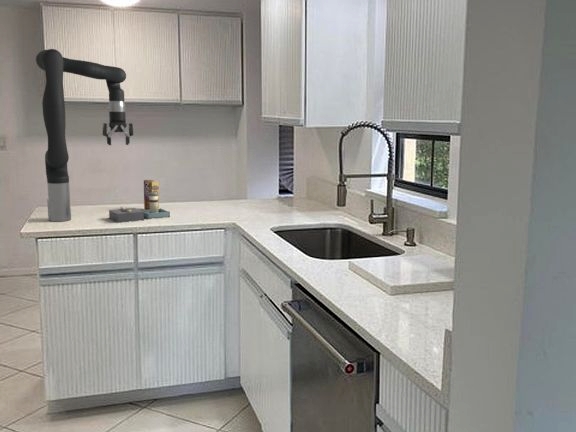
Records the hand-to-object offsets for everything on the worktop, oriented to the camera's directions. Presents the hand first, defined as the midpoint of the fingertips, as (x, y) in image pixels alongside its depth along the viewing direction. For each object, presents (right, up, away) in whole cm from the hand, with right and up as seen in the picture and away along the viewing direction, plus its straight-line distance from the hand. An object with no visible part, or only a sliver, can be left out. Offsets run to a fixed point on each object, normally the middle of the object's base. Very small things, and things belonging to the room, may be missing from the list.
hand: (118, 144), depth 285 cm
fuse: (+18, -34, -3) cm, 38 cm away
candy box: (+13, -32, +13) cm, 37 cm away
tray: (+18, -34, -3) cm, 39 cm away
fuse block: (+7, -36, -12) cm, 38 cm away
